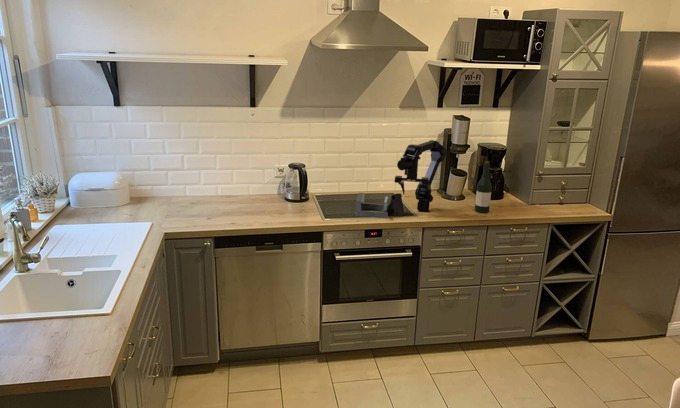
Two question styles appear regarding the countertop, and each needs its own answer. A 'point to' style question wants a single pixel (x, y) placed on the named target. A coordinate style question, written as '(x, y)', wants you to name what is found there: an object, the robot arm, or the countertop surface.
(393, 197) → the phone stand
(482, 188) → the wine bottle
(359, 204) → the gauge frame
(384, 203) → the paddle
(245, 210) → the countertop surface
